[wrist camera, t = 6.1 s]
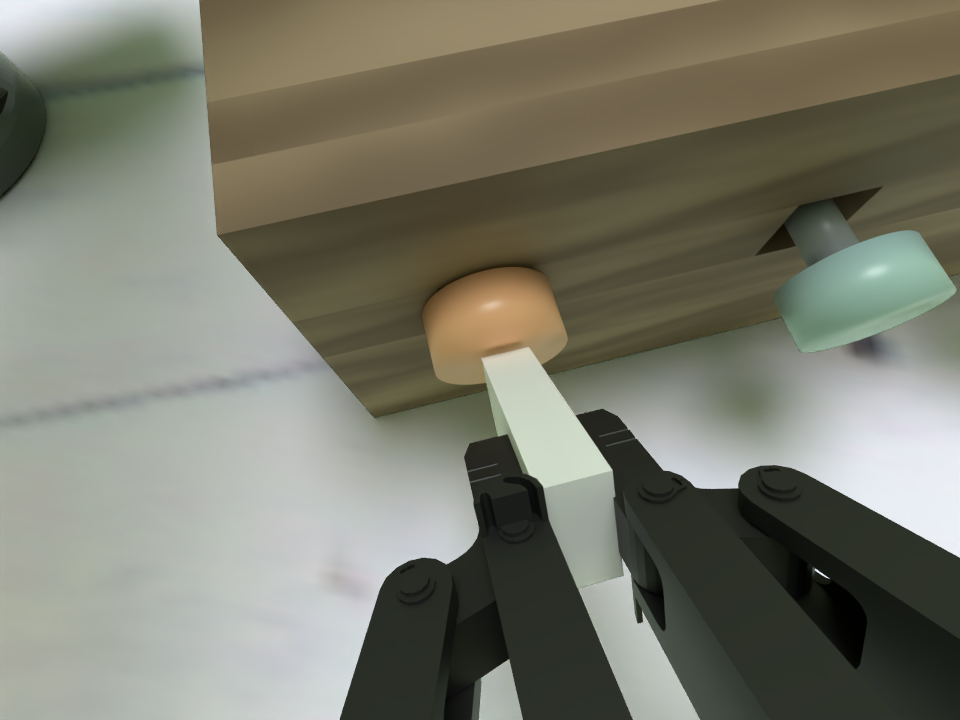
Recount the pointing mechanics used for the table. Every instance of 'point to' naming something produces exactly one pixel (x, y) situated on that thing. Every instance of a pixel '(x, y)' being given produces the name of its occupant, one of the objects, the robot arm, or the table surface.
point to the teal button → (855, 280)
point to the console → (566, 159)
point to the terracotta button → (491, 321)
